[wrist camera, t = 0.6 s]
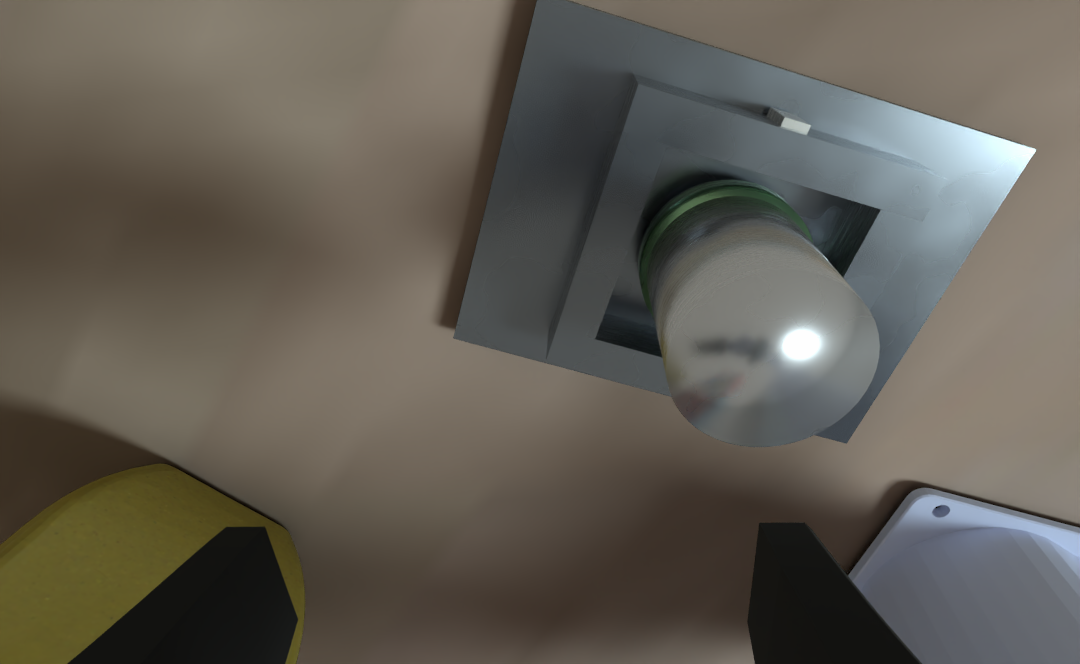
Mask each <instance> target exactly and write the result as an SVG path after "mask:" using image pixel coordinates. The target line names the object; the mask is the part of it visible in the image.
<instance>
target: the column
mask: <svg viewBox="0 0 1080 664" xmlns="http://www.w3.org/2000/svg"><path fill="white" fill-rule="evenodd" d="M638 273H639V280H640V285H641V290H642V294H643V297H644V301H645V303H646V305H647V307H648V310H649V311H650V313H651V314H652V316H653V317H654V321H655V326H656V331H657V336H658V340H659V345H660V350H661V354H662V359H663V364H664V368H665V373H666V378H667V383H668V386H669V390H670V394H671V396H672V398H673V400H674V403H675V405H676V406H677V408H678V409H679V411H680V412H681V414H682V415H683V416H684V417H685V418H686V419H687V420H688V421H689V422H690V423H691V424H692V425H694V426H695V427H696V428H697V429H699V430H700V431H702V432H703V433H705V434H707V435H709V436H711V437H713V438H715V439H717V440H720V441H723V442H726V443H730V444H734V445H739V446H748V447H771V446H780V445H784V444H789V443H793V442H797V441H800V440H803V439H806V438H808V437H811V436H813V435H815V434H818V433H819V432H821V431H823V430H825V429H827V428H828V427H830V426H832V425H833V424H834V423H836V422H837V421H839V420H840V419H841V418H842V417H844V416H845V415H846V414H847V413H848V412H849V411H850V410H851V409H852V408H853V407H854V406H855V405H856V404H857V403H858V402H859V400H860V399H861V398H862V396H863V395H864V394H865V392H866V391H867V389H868V387H869V385H870V383H871V381H872V379H873V377H874V374H875V371H876V369H877V364H878V360H879V350H880V342H879V333H878V330H877V326H876V322H875V320H874V318H873V316H872V314H871V312H870V310H869V309H868V307H867V306H866V305H865V303H864V302H863V301H862V299H861V298H860V297H859V296H858V295H857V294H856V292H855V291H854V290H853V289H852V288H851V287H850V285H849V284H848V283H847V282H846V281H845V280H844V278H843V277H842V276H841V275H840V274H839V273H838V271H837V270H836V269H835V268H834V267H833V266H832V264H831V263H830V262H829V261H828V260H827V259H826V257H825V256H824V255H823V254H822V253H821V252H820V250H819V249H818V248H817V247H816V246H815V245H814V243H813V241H812V237H811V234H810V232H809V230H808V228H807V226H806V225H805V223H804V222H803V220H802V219H801V217H800V216H799V215H798V214H797V213H796V212H795V211H794V210H793V208H792V207H791V206H790V205H789V204H788V203H787V202H786V201H785V200H784V199H783V198H782V197H781V196H779V195H778V194H777V193H775V192H774V191H772V190H770V189H768V188H766V187H764V186H762V185H759V184H756V183H753V182H748V181H743V180H717V181H710V182H705V183H702V184H699V185H696V186H693V187H691V188H689V189H687V190H685V191H683V192H681V193H680V194H678V195H677V196H675V197H674V198H673V199H671V200H670V201H669V202H668V203H667V204H666V205H665V206H664V207H663V208H662V209H661V210H660V211H659V212H658V213H657V215H656V216H655V217H654V218H653V220H652V221H651V223H650V225H649V226H648V228H647V230H646V232H645V234H644V236H643V239H642V242H641V245H640V249H639V255H638Z"/></svg>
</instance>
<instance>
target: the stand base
mask: <svg viewBox="0 0 1080 664" xmlns="http://www.w3.org/2000/svg"><path fill="white" fill-rule="evenodd" d="M1035 151H1036V149H1034V148H1031V147H1028V146H1026V145H1023V144H1021V143H1018V142H1014V141H1011V140H1008V139H1005V138H1002V137H999V136H995V135H992V134H989V133H986V132H983V131H980V130H976V129H973V128H970V127H967V126H964V125H961V124H957V123H954V122H951V121H948V120H945V119H942V118H939V117H935V116H932V115H929V114H926V113H923V112H920V111H916V110H913V109H910V108H907V107H904V106H901V105H897V104H894V103H891V102H888V101H885V100H882V99H878V98H875V97H872V96H869V95H866V94H863V93H859V92H856V91H853V90H850V89H847V88H844V87H841V86H837V85H834V84H831V83H828V82H825V81H822V80H818V79H815V78H812V77H809V76H806V75H803V74H799V73H796V72H793V71H790V70H787V69H784V68H780V67H777V66H774V65H771V64H768V63H765V62H762V61H758V60H755V59H752V58H749V57H746V56H743V55H739V54H736V53H733V52H730V51H727V50H724V49H720V48H717V47H714V46H711V45H708V44H705V43H701V42H698V41H695V40H692V39H689V38H686V37H683V36H679V35H676V34H673V33H670V32H667V31H664V30H660V29H657V28H654V27H651V26H648V25H645V24H641V23H638V22H635V21H632V20H629V19H626V18H622V17H619V16H616V15H613V14H610V13H607V12H604V11H600V10H597V9H594V8H591V7H588V6H585V5H581V4H578V3H575V2H572V1H569V0H537V3H536V7H535V11H534V15H533V19H532V23H531V27H530V31H529V35H528V39H527V43H526V47H525V51H524V55H523V59H522V63H521V67H520V71H519V75H518V79H517V83H516V87H515V91H514V95H513V99H512V103H511V107H510V112H509V116H508V120H507V124H506V128H505V132H504V136H503V140H502V144H501V148H500V152H499V156H498V160H497V164H496V168H495V172H494V176H493V180H492V184H491V188H490V192H489V196H488V200H487V204H486V208H485V212H484V216H483V221H482V225H481V229H480V233H479V237H478V241H477V245H476V249H475V253H474V257H473V261H472V265H471V269H470V273H469V277H468V281H467V285H466V289H465V293H464V297H463V301H462V305H461V309H460V313H459V317H458V321H457V325H456V330H455V334H454V339H458V340H461V341H465V342H469V343H473V344H476V345H480V346H484V347H488V348H491V349H495V350H499V351H503V352H506V353H510V354H514V355H517V356H521V357H525V358H529V359H532V360H536V361H540V362H544V363H547V364H551V365H555V366H559V367H562V368H566V369H570V370H574V371H577V372H581V373H585V374H589V375H592V376H596V377H600V378H604V379H607V380H611V381H615V382H618V383H622V384H626V385H630V386H633V387H637V388H641V389H645V390H648V391H652V392H656V393H660V394H663V395H667V396H671V394H670V390H669V386H668V383H667V378H666V373H665V368H664V364H663V359H662V354H661V350H660V345H659V340H658V336H657V331H656V326H655V321H654V317H653V316H652V314H651V313H650V311H649V310H648V307H647V305H646V303H645V301H644V297H643V294H642V290H641V285H640V280H639V273H638V255H639V249H640V245H641V242H642V239H643V236H644V234H645V232H646V230H647V228H648V226H649V225H650V223H651V221H652V220H653V218H654V217H655V216H656V215H657V213H658V212H659V211H660V210H661V209H662V208H663V207H664V206H665V205H666V204H667V203H668V202H669V201H670V200H671V199H673V198H674V197H675V196H677V195H678V194H680V193H681V192H683V191H685V190H687V189H689V188H691V187H693V186H696V185H699V184H702V183H705V182H710V181H717V180H743V181H748V182H753V183H756V184H759V185H762V186H764V187H766V188H768V189H770V190H772V191H774V192H775V193H777V194H778V195H779V196H781V197H782V198H783V199H784V200H785V201H786V202H787V203H788V204H789V205H790V206H791V207H792V208H793V210H794V211H795V212H796V213H797V214H798V215H799V216H800V217H801V219H802V220H803V222H804V223H805V225H806V226H807V228H808V230H809V232H810V234H811V237H812V241H813V243H814V245H815V246H816V247H817V248H818V249H819V250H820V252H821V253H822V254H823V255H824V256H825V257H826V259H827V260H828V261H829V262H830V263H831V264H832V266H833V267H834V268H835V269H836V270H837V271H838V273H839V274H840V275H841V276H842V277H843V278H844V280H845V281H846V282H847V283H848V284H849V285H850V287H851V288H852V289H853V290H854V291H855V292H856V294H857V295H858V296H859V297H860V298H861V299H862V301H863V302H864V303H865V305H866V306H867V307H868V309H869V310H870V312H871V314H872V316H873V318H874V320H875V322H876V326H877V330H878V333H879V342H880V350H879V360H878V364H877V369H876V371H875V374H874V377H873V379H872V381H871V383H870V385H869V387H868V389H867V391H866V392H865V394H864V395H863V396H862V398H861V399H860V400H859V402H858V403H857V404H856V405H855V406H854V407H853V408H852V409H851V410H850V411H849V412H848V413H847V414H846V415H845V416H844V417H842V418H841V419H840V420H839V421H837V422H836V423H834V424H833V425H832V426H830V427H828V428H827V429H825V430H823V431H821V432H819V433H818V434H815V435H817V436H820V437H824V438H828V439H832V440H835V441H839V442H843V443H847V442H848V440H849V439H850V437H851V436H852V434H853V433H854V431H855V430H856V428H857V427H858V425H859V423H860V422H861V420H862V419H863V417H864V416H865V414H866V413H867V411H868V409H869V408H870V406H871V405H872V403H873V402H874V400H875V399H876V397H877V396H878V394H879V392H880V391H881V389H882V388H883V386H884V385H885V383H886V382H887V380H888V379H889V377H890V375H891V374H892V372H893V371H894V369H895V368H896V366H897V365H898V363H899V361H900V360H901V358H902V357H903V355H904V354H905V352H906V351H907V349H908V348H909V346H910V344H911V343H912V341H913V340H914V338H915V337H916V335H917V334H918V332H919V331H920V329H921V327H922V326H923V324H924V323H925V321H926V320H927V318H928V317H929V315H930V313H931V312H932V310H933V309H934V307H935V306H936V304H937V303H938V301H939V300H940V298H941V296H942V295H943V293H944V292H945V290H946V289H947V287H948V286H949V284H950V283H951V281H952V279H953V278H954V276H955V275H956V273H957V272H958V270H959V269H960V267H961V265H962V264H963V262H964V261H965V259H966V258H967V256H968V255H969V253H970V252H971V250H972V248H973V247H974V245H975V244H976V242H977V241H978V239H979V238H980V236H981V235H982V233H983V231H984V230H985V228H986V227H987V225H988V224H989V222H990V221H991V219H992V217H993V216H994V214H995V213H996V211H997V210H998V208H999V207H1000V205H1001V204H1002V202H1003V200H1004V199H1005V197H1006V196H1007V194H1008V193H1009V191H1010V190H1011V188H1012V187H1013V185H1014V183H1015V182H1016V180H1017V179H1018V177H1019V176H1020V174H1021V173H1022V171H1023V169H1024V168H1025V166H1026V165H1027V163H1028V162H1029V160H1030V159H1031V157H1032V156H1033V154H1034V152H1035ZM671 397H672V396H671Z"/></svg>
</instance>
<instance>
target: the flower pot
mask: <svg viewBox="0 0 1080 664" xmlns="http://www.w3.org/2000/svg"><path fill="white" fill-rule="evenodd" d="M263 526H265V528H266V530H267V533H268V536H269V539H270V542H271V545H272V547H273V550H274V553H275V556H276V559H277V561H278V564H279V567H280V570H281V573H282V575H283V578H284V581H285V584H286V587H287V589H288V592H289V595H290V598H291V601H292V603H293V606H294V609H295V612H296V615H297V617H298V622H297V625H296V629H295V632H294V636H293V639H292V643H291V646H290V650H289V653H288V657H287V660H286V663H285V664H296V662H297V658H298V654H299V649H300V644H301V639H302V634H303V627H304V616H305V589H304V579H303V572H302V567H301V564H300V560H299V556H298V554H297V551H296V548H295V546H294V543H293V541H292V538H291V535H290V534H289V532H288V531H287V530H286V529H285V528H283V527H282V526H280V525H278V524H276V523H275V522H273V521H271V520H269V519H267V518H265V517H264V516H262V515H260V514H258V513H256V512H254V511H252V510H251V509H249V508H247V507H245V506H243V505H241V504H239V503H238V502H236V501H234V500H232V499H230V498H228V497H227V496H225V495H223V494H221V493H219V492H218V491H216V490H214V489H212V488H211V487H209V486H207V485H205V484H203V483H201V482H200V481H198V480H196V479H194V478H193V477H191V476H189V475H187V474H185V473H184V472H182V471H180V470H178V469H176V468H174V467H172V466H170V465H167V464H153V465H147V466H142V467H137V468H132V469H128V470H124V471H121V472H118V473H114V474H111V475H108V476H105V477H103V478H100V479H98V480H96V481H93V482H91V483H89V484H87V485H85V486H82V487H80V488H78V489H77V490H75V491H73V492H71V493H69V494H68V495H66V496H64V497H62V498H61V499H59V500H58V501H56V502H55V503H53V504H52V505H50V506H49V507H47V508H45V509H44V510H43V511H42V512H40V513H39V514H38V515H36V516H35V517H34V518H33V519H31V520H30V521H29V522H27V523H26V524H25V525H24V526H22V527H21V528H20V529H19V530H18V531H16V532H15V533H14V534H13V535H12V536H10V537H9V538H8V539H7V540H5V541H4V542H3V543H2V544H1V545H0V664H67V663H68V662H70V661H71V660H72V659H73V658H75V657H76V656H77V655H78V654H79V653H81V652H82V651H83V650H84V649H85V648H87V647H88V646H89V645H90V644H91V643H92V642H94V641H95V640H96V639H97V638H98V637H99V636H101V635H102V634H103V633H104V632H105V631H106V630H107V629H109V628H110V627H111V626H112V625H113V624H114V623H116V622H117V621H118V620H119V619H120V618H121V617H122V616H124V615H125V614H126V613H127V612H128V611H129V610H131V609H132V608H133V607H134V606H135V605H136V604H137V603H139V602H140V601H141V600H142V599H143V598H144V597H146V596H147V595H148V594H149V593H150V592H151V591H152V590H153V589H155V588H156V587H157V586H158V585H159V584H160V583H161V582H163V581H164V580H165V579H166V578H167V577H168V576H169V575H171V574H172V573H173V572H174V571H175V570H176V569H177V568H178V567H180V566H181V565H182V564H183V563H184V562H185V561H186V560H188V559H189V558H190V557H191V556H192V555H193V554H194V553H196V552H197V551H198V550H199V549H200V548H201V547H203V546H204V545H205V544H206V543H207V542H208V541H210V540H211V539H212V538H213V537H214V536H216V535H217V534H218V533H219V532H220V531H222V530H223V529H224V528H225V527H263Z"/></svg>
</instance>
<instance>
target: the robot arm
mask: <svg viewBox="0 0 1080 664" xmlns="http://www.w3.org/2000/svg"><path fill="white" fill-rule="evenodd" d="M940 505H941V506H940ZM937 506H940V507H938V508H935V507H937ZM934 508H935V509H934ZM297 622H298V617H297V615H296V612H295V609H294V606H293V603H292V601H291V598H290V595H289V592H288V589H287V587H286V584H285V581H284V578H283V575H282V573H281V570H280V567H279V564H278V561H277V559H276V556H275V553H274V550H273V547H272V545H271V542H270V539H269V536H268V533H267V530H266V528H265V526H263V527H225V528H224V529H223V530H222V531H220V532H219V533H218V534H217V535H216V536H214V537H213V538H212V539H211V540H210V541H208V542H207V543H206V544H205V545H204V546H203V547H201V548H200V549H199V550H198V551H197V552H196V553H194V554H193V555H192V556H191V557H190V558H189V559H188V560H186V561H185V562H184V563H183V564H182V565H181V566H180V567H178V568H177V569H176V570H175V571H174V572H173V573H172V574H171V575H169V576H168V577H167V578H166V579H165V580H164V581H163V582H161V583H160V584H159V585H158V586H157V587H156V588H155V589H153V590H152V591H151V592H150V593H149V594H148V595H147V596H146V597H144V598H143V599H142V600H141V601H140V602H139V603H137V604H136V605H135V606H134V607H133V608H132V609H131V610H129V611H128V612H127V613H126V614H125V615H124V616H122V617H121V618H120V619H119V620H118V621H117V622H116V623H114V624H113V625H112V626H111V627H110V628H109V629H107V630H106V631H105V632H104V633H103V634H102V635H101V636H99V637H98V638H97V639H96V640H95V641H94V642H92V643H91V644H90V645H89V646H88V647H87V648H85V649H84V650H83V651H82V652H81V653H79V654H78V655H77V656H76V657H75V658H73V659H72V660H71V661H70V662H68V663H67V664H285V663H286V660H287V657H288V653H289V650H290V646H291V643H292V639H293V636H294V632H295V629H296V625H297ZM748 627H749V633H750V638H751V644H752V649H753V655H754V660H755V664H1080V528H1079V527H1075V526H1071V525H1067V524H1063V523H1060V522H1056V521H1052V520H1048V519H1045V518H1041V517H1037V516H1033V515H1029V514H1026V513H1022V512H1018V511H1014V510H1010V509H1007V508H1003V507H999V506H995V505H992V504H988V503H984V502H980V501H976V500H973V499H969V498H965V497H961V496H957V495H954V494H950V493H946V492H942V491H939V490H935V489H931V488H919V489H916V490H914V491H912V492H911V493H910V494H908V495H907V497H906V498H905V499H904V501H903V502H902V503H901V505H900V506H899V507H898V509H897V510H896V511H895V513H894V514H893V515H892V517H891V518H890V520H889V521H888V522H887V524H886V525H885V526H884V528H883V529H882V530H881V532H880V533H879V534H878V536H877V537H876V538H875V540H874V541H873V542H872V544H871V545H870V547H869V548H868V549H867V551H866V552H865V553H864V555H863V556H862V557H861V559H860V560H859V561H858V563H857V564H856V565H855V567H854V568H853V570H852V571H851V572H850V574H849V575H847V574H846V573H845V572H844V570H843V569H842V568H841V567H840V565H839V564H838V563H837V562H836V560H835V559H834V558H833V556H832V555H831V554H830V553H829V551H828V550H827V549H826V547H825V546H824V545H823V544H822V542H821V541H820V540H819V538H818V537H817V536H816V535H815V533H814V532H813V531H812V529H811V528H810V527H809V526H807V525H806V524H805V523H759V531H758V539H757V547H756V556H755V564H754V572H753V581H752V589H751V597H750V605H749V614H748Z"/></svg>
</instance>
